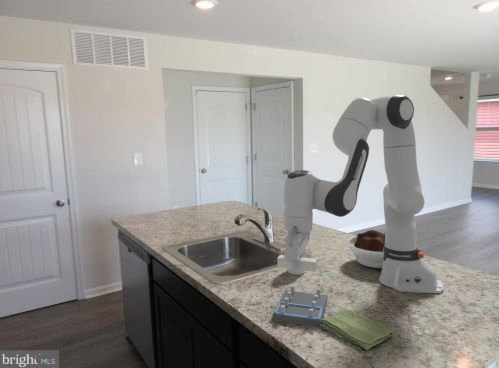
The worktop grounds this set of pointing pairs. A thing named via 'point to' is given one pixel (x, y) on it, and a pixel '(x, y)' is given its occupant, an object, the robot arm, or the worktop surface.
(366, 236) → the chocolate pudding dish
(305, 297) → the board
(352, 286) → the worktop surface
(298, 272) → the pill bottle
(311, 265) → the bar
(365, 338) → the washcloth
